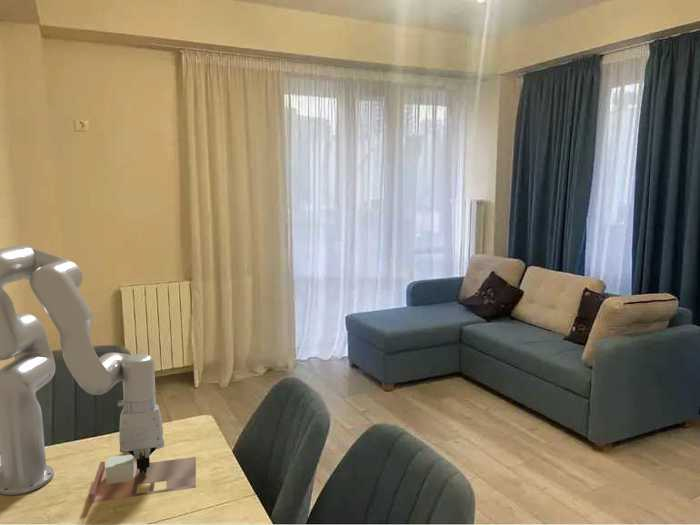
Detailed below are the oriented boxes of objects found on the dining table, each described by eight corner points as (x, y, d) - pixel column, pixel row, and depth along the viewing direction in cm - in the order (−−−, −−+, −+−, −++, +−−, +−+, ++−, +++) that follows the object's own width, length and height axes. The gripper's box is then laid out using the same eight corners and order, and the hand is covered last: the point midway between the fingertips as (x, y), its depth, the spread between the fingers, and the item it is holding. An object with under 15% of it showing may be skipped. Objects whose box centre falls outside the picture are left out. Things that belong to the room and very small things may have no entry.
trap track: (90, 508, 122) (89, 494, 122) (101, 474, 136) (100, 462, 136) (196, 492, 129) (195, 479, 128) (195, 461, 143) (195, 450, 143)
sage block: (106, 484, 129) (105, 467, 129) (109, 473, 134) (108, 457, 133) (132, 480, 131) (131, 464, 130) (134, 470, 136) (133, 454, 135)
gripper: (105, 413, 126) (110, 482, 129) (170, 406, 130) (173, 473, 133) (110, 400, 133) (114, 466, 136) (171, 394, 137) (174, 459, 140)
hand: (143, 470), depth 134 cm, fingers closed
